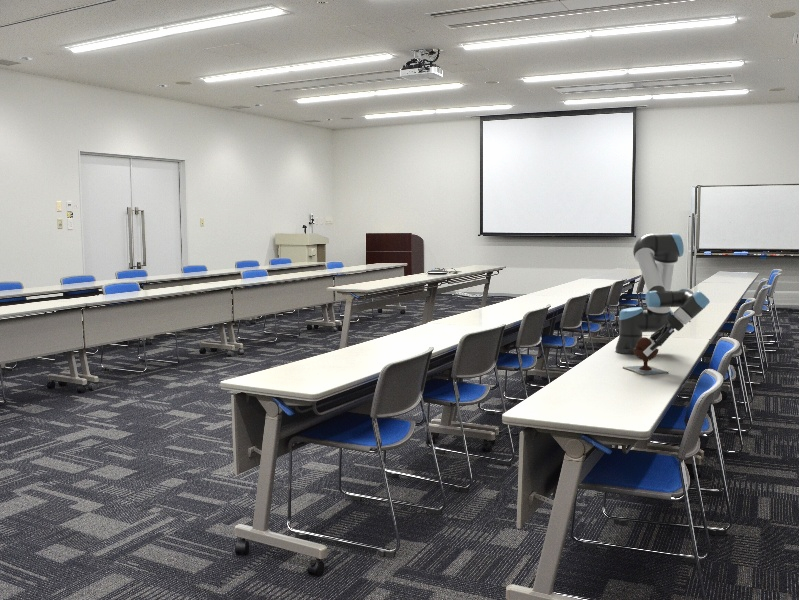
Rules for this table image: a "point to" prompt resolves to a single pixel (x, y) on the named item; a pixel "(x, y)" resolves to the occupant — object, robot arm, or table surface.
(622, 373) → the table surface
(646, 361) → the ice cream bowl
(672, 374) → the table surface
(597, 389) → the table surface
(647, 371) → the rubber sheet
